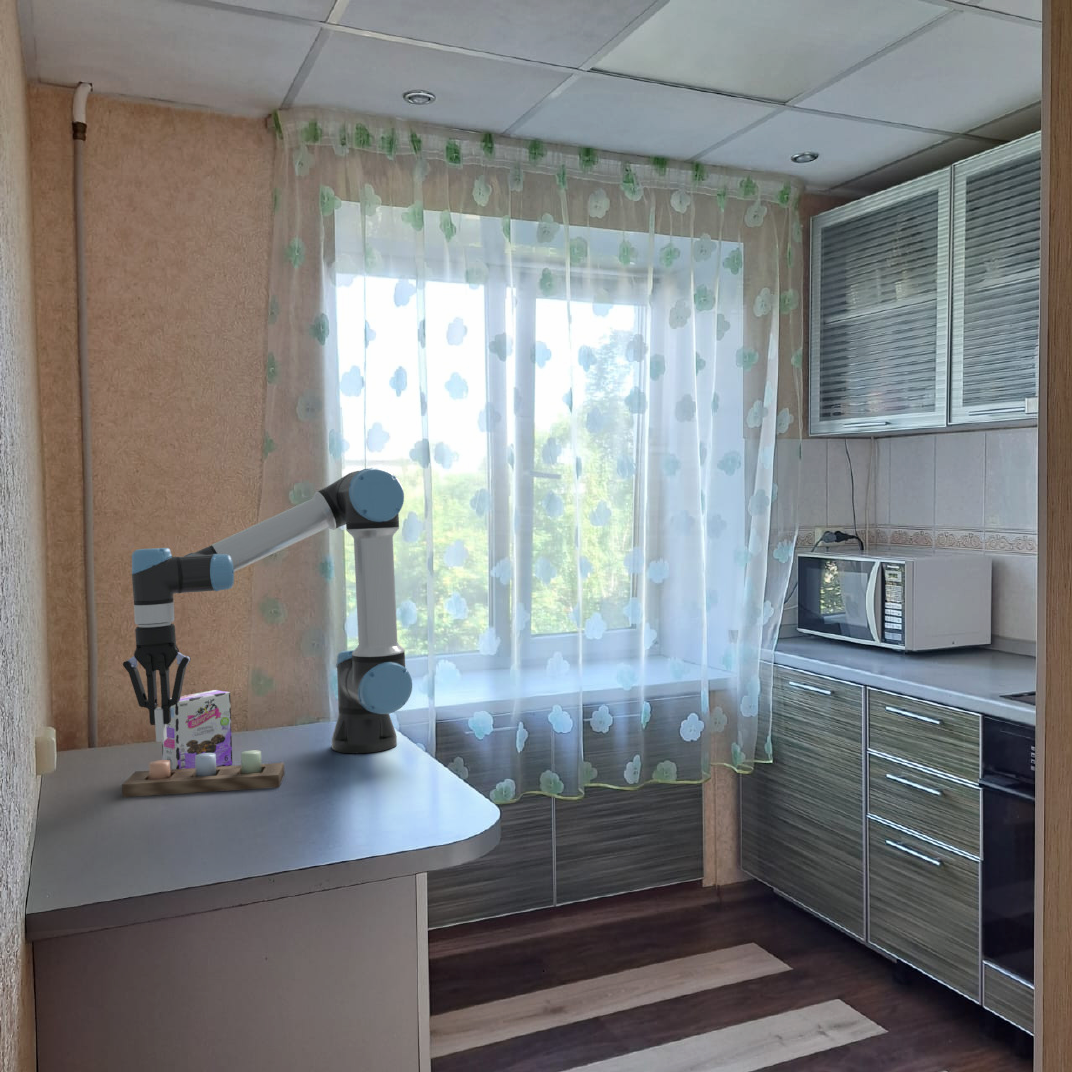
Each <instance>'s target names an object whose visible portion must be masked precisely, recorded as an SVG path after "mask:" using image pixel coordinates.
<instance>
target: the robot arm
mask: <svg viewBox="0 0 1072 1072" xmlns="http://www.w3.org/2000/svg"><path fill="white" fill-rule="evenodd" d="M404 501H405V493H404V488H403V486H402V484H401V481H400V480H399V478H397V477H396V475H394V473H391V472H390V471H389V470H387V469H382V468H374V467H370V468H364V469H361V470H356V471H352V472H349V473H348V474H346V475H343V476H342V477H341V478H339V479H338V480H336V481H334V482H332V483H331V484H329V485H328V486H326V487H324V488H322V489H320V490H317V491H316V492H315V493H314V494H313V497H312V498H311V499H308V500H306V501H304V502H302V503H300V504H297V505H295V506H293V507H291V508H289V509H286V510H284V511H283V512H280V513H278V514H275V515H274V516H271V517H269V518H267V519H265V520H262V521H260V522H258V523H256V524H254V525H251V526H248V527H247V528H245V529H243V530H241V531H238V532H237V533H235V534H232V535H229V536H227V537H225V538H223V539H222V540H219V541H217V542H215V543H212V544H211V545H209V546H205V547H204V548H202V549H200V550H198V551H196V552H190V553H188V554H185V555H184V556H173V554H172V552H171V551H172V550H171V549H170V547H169V548H168V547H157V548H154V547H153V548H141V549H139V548H137V549H135V550H134V551H133V552H132V553H131V579H132V580H131V581H132V582H131V583H132V595H133V596H132V597H133V611H134V612H133V614H134V624H135V625H137V627H135V629H134V631H135V633H134V634H135V647H136V648H135V650H134V652H133V656H131V657H130V658H129V659H127V660H125V661H123V663H122V666H123V668H124V669H125V670H126V672H128V675H129V678H130V681H131V685H132V687H133V691H134V693H135V697H136V701H137V704H138V706H139V707H140V708H146V709H148V713H149V714H148V715H149V724H150V726H155V742H156V743H162V742H164V741H165V740H166V739H167V730H166V724H169V723H170V722H171V709H170V708H171V706H173V705H175V704H177V703H178V702H179V701H180V696H182V690H183V686H184V685H183V684H184V681H185V680H184V679H185V674H186V669H187V666H188V665H189V663H190V662H191V660H192V659H191V656H189V655H184V654H183V653H181V652H180V649H179V647H178V646H177V642H176V640H177V639H176V625H175V624H174V623H173V622H174V621H175V605H174V602H175V601H174V594H183V593H184V594H185V593H200V592H201V593H202V592H219V591H226V590H230V589H231V588H233V586H234V582H235V581H234V580H235V572H236V571H239V570H240V569H243V568H245V567H247V566H249V565H252V564H253V563H256V562H258V561H260V560H262V559H264V558H267V557H268V556H270V555H272V554H273V555H274V554H275V553H278V552H279V551H281V550H285V549H286V548H287V547H290V546H293V545H294V544H297V543H299V542H300V541H302V540H305V539H307V538H309V537H311V536H314V535H315V534H318V533H320V532H323V531H324V530H327V529H330V530H336V529H339V528H340V527H343V526H345V528H346V532H347V533H348V534H349V535H350V536H351V537H352V539H353V549H354V553H353V554H354V571H355V573H354V574H355V575H354V576H355V593H356V619H357V639H358V645H357V647H356V648H355V649H353V650H343V651H339V652H338V654H337V656H336V657H337V658H336V665H335V666H336V673H337V674H336V675H337V677H336V678H337V680H336V681H337V706H338V710H337V711H338V716H337V720H336V723H335V726H334V730H333V733H332V737H331V749H332V750H333V751H334V752H339V753H343V754H370V753H378V752H382V751H386V750H390V749H392V748H394V747H396V746H397V744H398V739H397V736H398V735H397V732H396V730H395V727H394V725H393V724H394V723H393V721H392V719H391V716H390V714H391V713H392V714H393V713H395V712H397V711H399V710H400V709H402V708H403V707H405V705H406V704H407V702H409V699H410V697H411V694H412V691H413V679H412V675H411V674H410V672H409V670H408V668H407V667H406V656H405V655H406V654H405V652H406V651H405V650H406V649H405V648H403V647H402V646H401V645H400V644H399V642H398V627H397V625H398V623H397V609H396V608H397V605H396V581H395V580H396V579H395V560H394V559H395V556H394V555H395V554H394V535H395V534H396V533H397V531H398V530H399V529H400V520H399V519H400V517H399V516H400V514H399V513H400V511H402V508H403V506H404ZM175 660H176V664H177V665H178V666H177V668H176V674H175V679H174V683H173V690H172V695H171V688H170V687H171V686H170V685H171V684H170V667H171V666H172V665H173V663H174V662H175ZM138 665H141V667H142V668H143V669H144V670H145V677H146V685H147V686H146V688H147V691H145V687H144V684H143V681H142V677H141V675H140V672H139V671H140V670H139V669H138ZM157 671H158V672H159V674H158V675H159V681H160V696H161V697H160V698H161V699H160V702H161V701H162V706H160V707H159V703H158V692H157V691H158V690H157V689H158V687H157ZM146 692H147V694H146ZM170 698H172V699H170Z"/></svg>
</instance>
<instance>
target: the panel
mask: <svg viewBox="0 0 1072 1072" xmlns="http://www.w3.org/2000/svg"><path fill="white" fill-rule="evenodd" d="M261 767H262V771H261V772H260V773H251V774H242V773H241V764H240V765H228V766H221V767H216V775H214V776H201V777H196V768H187V769H170V774H171V778H168V779H152V780H150V779H149V770H141V771H140V770H139V771H134V772H133V773H132V774H131V775H130V776H129V777H128V778H127V779H126V780H125V781H124V782H123V783H122V785H121V787H122V789H121V790H122V794H121V795H122V798H130V797H144V796H145V797H146V796H161V795H176V794H177V795H178V794H191V793H192V794H193V793H194V794H195V793H207V792H210V793H211V792H222V791H223V792H225V791H241V790H243V791H244V790H258V789H271V788H272V789H273V788H280V786H281V784H282V782H283V779H284V777H285V775H286V773H285V762H274V763H272V762H271V763H261Z"/></svg>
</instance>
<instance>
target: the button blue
mask: <svg viewBox="0 0 1072 1072" xmlns="http://www.w3.org/2000/svg"><path fill="white" fill-rule="evenodd" d="M195 768H196V777H201V776H214V775H216V754H215V753H202V754H198V755H196V756H195Z"/></svg>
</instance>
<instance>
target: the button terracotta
mask: <svg viewBox="0 0 1072 1072" xmlns="http://www.w3.org/2000/svg"><path fill="white" fill-rule="evenodd" d="M148 771H149V779H150V780H152V779H168V778H171V774H170V761H169V760H163V759H159V760H153V761H150V762H149V763H148Z"/></svg>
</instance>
